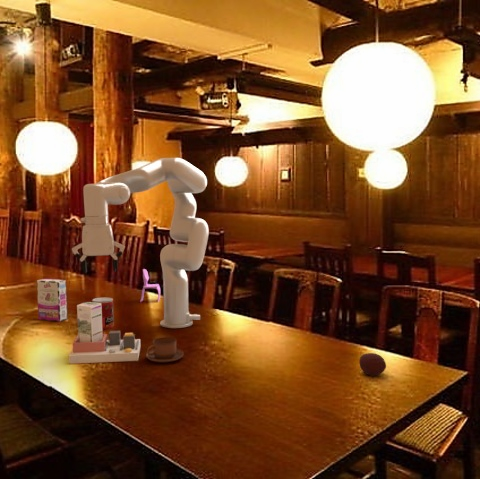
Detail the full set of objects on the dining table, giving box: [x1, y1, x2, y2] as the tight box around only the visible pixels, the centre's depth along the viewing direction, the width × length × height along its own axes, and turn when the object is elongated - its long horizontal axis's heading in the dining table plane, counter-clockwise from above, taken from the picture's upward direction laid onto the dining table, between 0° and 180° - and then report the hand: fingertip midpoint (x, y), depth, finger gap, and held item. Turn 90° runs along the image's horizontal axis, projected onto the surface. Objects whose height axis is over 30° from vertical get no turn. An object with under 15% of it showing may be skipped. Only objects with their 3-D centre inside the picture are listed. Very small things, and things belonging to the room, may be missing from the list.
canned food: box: [91, 296, 115, 331], centre depth 223 cm, size 8×8×11 cm
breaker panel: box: [68, 333, 141, 364], centre depth 188 cm, size 21×16×6 cm
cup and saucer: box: [145, 336, 185, 363], centre depth 183 cm, size 12×12×6 cm
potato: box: [358, 352, 387, 376], centre depth 168 cm, size 7×8×6 cm
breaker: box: [108, 330, 122, 345], centre depth 191 cm, size 3×3×4 cm
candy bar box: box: [36, 278, 68, 323], centre depth 236 cm, size 11×5×16 cm, turn 68°
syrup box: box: [76, 301, 103, 342], centre depth 187 cm, size 6×6×14 cm
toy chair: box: [139, 268, 161, 303], centre depth 272 cm, size 8×9×15 cm
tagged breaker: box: [122, 332, 136, 349], centre depth 187 cm, size 3×3×5 cm
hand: (100, 271), depth 195 cm, fingers open, 9 cm apart
